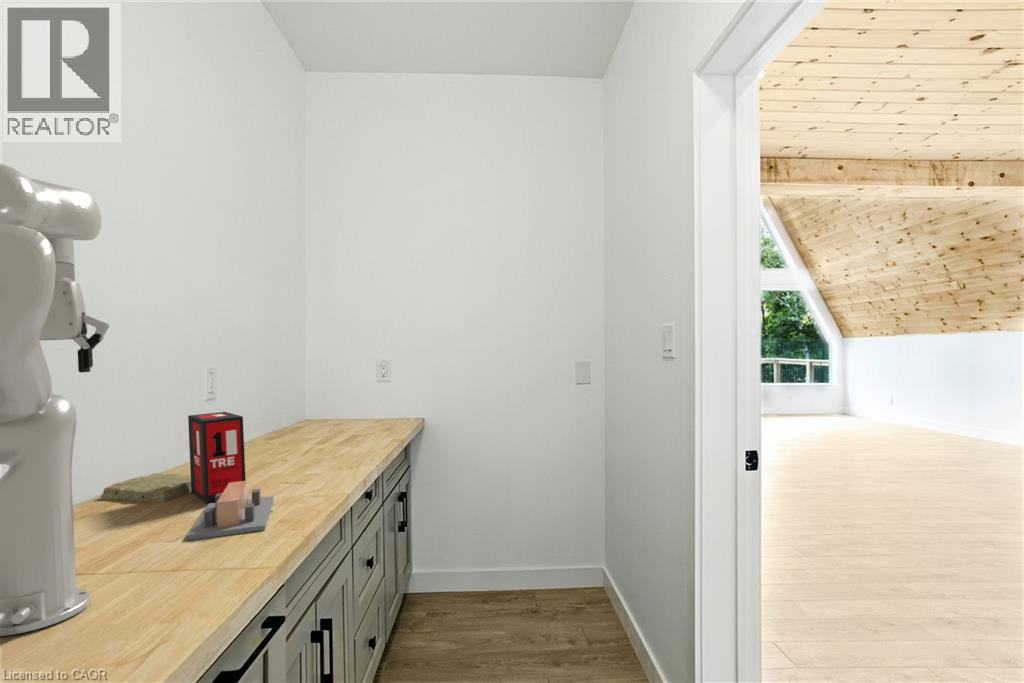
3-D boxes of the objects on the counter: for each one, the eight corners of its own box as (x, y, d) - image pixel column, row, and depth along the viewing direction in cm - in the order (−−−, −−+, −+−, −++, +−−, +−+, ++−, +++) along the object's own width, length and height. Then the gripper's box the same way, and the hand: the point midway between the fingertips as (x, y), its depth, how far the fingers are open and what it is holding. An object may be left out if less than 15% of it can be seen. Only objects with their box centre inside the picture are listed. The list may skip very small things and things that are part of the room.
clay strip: (239, 524, 118) (238, 500, 118) (217, 527, 117) (216, 502, 117) (249, 501, 136) (248, 480, 136) (230, 504, 134) (229, 482, 134)
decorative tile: (154, 484, 165) (153, 471, 165) (215, 485, 160) (215, 472, 160) (94, 502, 146) (93, 488, 146) (162, 504, 142) (161, 490, 142)
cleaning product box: (246, 496, 145) (242, 416, 144) (206, 504, 139) (203, 420, 139) (228, 485, 157) (225, 411, 157) (191, 492, 151) (188, 415, 151)
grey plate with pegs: (264, 530, 117) (264, 510, 117) (186, 540, 113) (186, 520, 113) (273, 500, 140) (272, 483, 140) (209, 507, 136) (208, 490, 136)
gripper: (-27, 272, 95) (-22, 377, 94) (97, 271, 100) (101, 371, 100) (-1, 278, 102) (3, 375, 102) (113, 277, 107) (117, 370, 107)
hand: (52, 373), depth 101 cm, fingers open, 9 cm apart
